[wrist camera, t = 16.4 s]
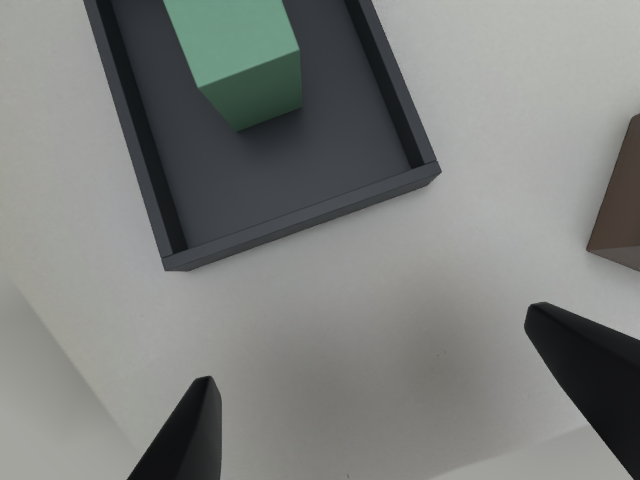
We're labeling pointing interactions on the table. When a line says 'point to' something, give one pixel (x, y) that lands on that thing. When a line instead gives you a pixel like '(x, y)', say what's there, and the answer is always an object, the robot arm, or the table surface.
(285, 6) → the dark grey tray
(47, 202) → the table surface
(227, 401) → the table surface
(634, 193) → the block
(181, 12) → the green rectangular block
